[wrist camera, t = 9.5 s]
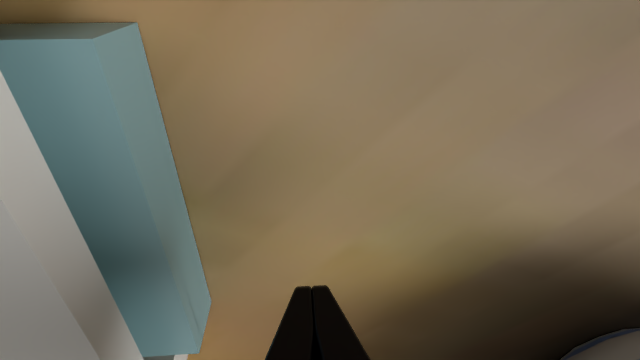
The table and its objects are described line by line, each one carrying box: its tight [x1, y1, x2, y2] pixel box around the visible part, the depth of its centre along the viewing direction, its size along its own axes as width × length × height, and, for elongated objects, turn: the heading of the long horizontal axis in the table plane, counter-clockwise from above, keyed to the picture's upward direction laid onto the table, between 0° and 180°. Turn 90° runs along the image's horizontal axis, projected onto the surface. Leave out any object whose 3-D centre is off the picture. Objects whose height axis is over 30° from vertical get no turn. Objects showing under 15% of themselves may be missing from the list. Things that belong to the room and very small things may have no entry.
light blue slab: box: [0, 22, 211, 357], centre depth 11 cm, size 10×12×2 cm
